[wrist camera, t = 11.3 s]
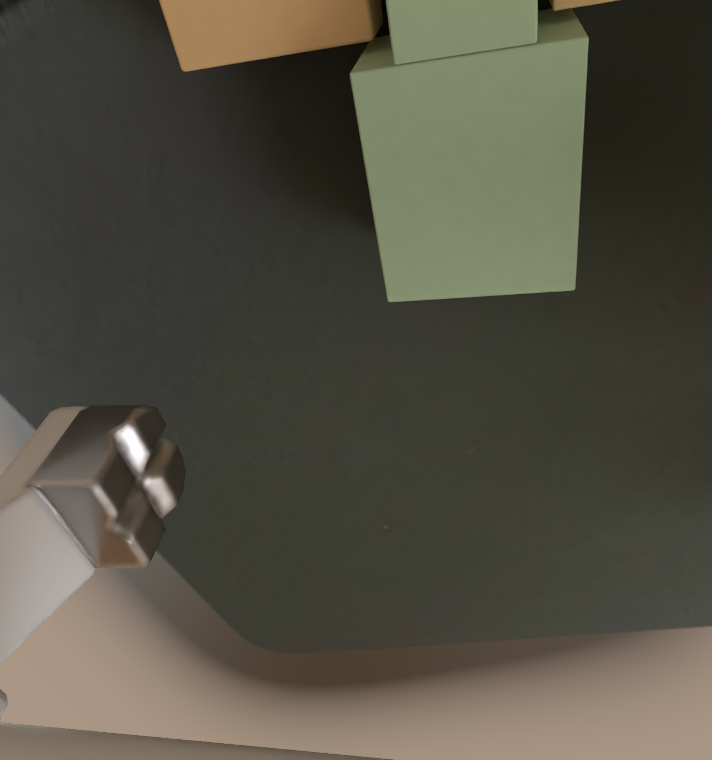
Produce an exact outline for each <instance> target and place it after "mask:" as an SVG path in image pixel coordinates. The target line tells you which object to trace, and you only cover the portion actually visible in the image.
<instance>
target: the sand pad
mask: <svg viewBox="0 0 712 760" xmlns="http://www.w3.org/2000/svg"><path fill="white" fill-rule="evenodd" d="M159 1H160V5H161V8H162V11H163V14H164V17H165V20H166V23H167V26H168V29H169V32H170V35H171V39H172V42H173V45H174V48H175V51H176V54H177V57H178V60H179V63H180V66H181V69H182V71H192V70H198V69H204V68H211V67H217V66H223V65H229V64H235V63H241V62H247V61H253V60H259V59H265V58H271V57H277V56H283V55H289V54H295V53H301V52H307V51H313V50H319V49H325V48H331V47H337V46H343V45H349V44H355V43H362V42H368V41H372V40H373V39H374V38H375V36H376V34H377V33H378V31H379V29H380V28H381V26H382V24H383V21H384V19H383V11H382V3H381V0H159ZM612 1H618V0H549V2H550V4H551V6H552V8H553V10H554V11H557V10H563V9H569V8H575V7H581V6H587V5H593V4H600V3H606V2H612Z"/></svg>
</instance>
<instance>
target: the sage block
mask: <svg viewBox="0 0 712 760" xmlns="http://www.w3.org/2000/svg"><path fill="white" fill-rule="evenodd" d="M386 7H387V15H388V23H389V31H390V35H388V36H382V37H376V38H374V39H373V40H372V41H370V42H369V44H368V45H367V47H366V49H365V50H364V52H363V53H362V55H361V57H360V58H359V60H358V61H357V63H356V64H355V66H354V68H353V69H352V71H351V72H350V80H351V86H352V92H353V98H354V104H355V110H356V116H357V122H358V128H359V134H360V140H361V146H362V152H363V158H364V163H365V169H366V175H367V181H368V187H369V193H370V199H371V205H372V211H373V217H374V223H375V229H376V235H377V241H378V247H379V253H380V259H381V265H382V271H383V277H384V283H385V289H386V295H387V300H388V302H399V301H414V300H430V299H446V298H461V297H477V296H493V295H508V294H524V293H540V292H555V291H571V290H575V285H576V266H577V247H578V229H579V210H580V191H581V173H582V154H583V135H584V117H585V98H586V80H587V61H588V42H589V38H588V36H587V34H586V32H585V31H584V29H583V27H582V25H581V24H580V22H579V20H578V18H577V17H576V15H575V13H574V11H573V10H572V8H569V9H563V10H557V11H554V10H553V8H551V9H545V10H539V11H538V0H386Z"/></svg>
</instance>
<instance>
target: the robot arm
mask: <svg viewBox="0 0 712 760" xmlns="http://www.w3.org/2000/svg"><path fill="white" fill-rule="evenodd" d="M165 426H166V423H165V421H164V419H163V418H162V416H161V414H160V412H159V411H158V409H157V408H155V407H152V406H149V405H112V406H89V407H60V408H58V409H56V410H54V411H51V412H50V413H49V415H48V416H47V417H46V419H45V420H44V421H43V422H42V424H41V425H40V426H39V428H38V429H37V430H36V431H35V433H34V434H33V435H32V437H31V438H30V439H29V440H28V442H27V443H26V444H25V446H24V447H23V448H22V449H21V451H20V452H19V453H18V455H17V456H16V457H15V459H14V460H13V461H12V462H11V464H10V465H9V466H8V467H7V469H6V470H5V471H4V473H3V474H2V475H1V477H0V664H1V663H2V661H4V660H5V659H6V658H7V657H8V656H9V655H10V654H11V653H12V652H13V651H14V650H15V649H16V648H17V647H18V646H19V645H20V644H21V643H22V642H23V641H24V640H25V639H26V638H27V637H28V636H29V635H30V634H32V633H33V631H34V630H36V629H37V628H38V627H39V626H40V625H41V624H42V623H43V622H44V621H45V620H46V619H47V618H48V617H49V616H50V615H51V614H52V613H53V612H54V611H55V610H56V609H57V608H58V607H59V606H61V605H62V604H63V603H64V602H65V601H66V600H67V599H68V598H69V597H70V596H71V595H72V594H73V593H74V592H75V591H76V590H77V589H78V588H79V587H80V586H81V585H82V584H83V583H84V582H85V581H86V580H87V579H88V578H90V577H91V576H92V574H94V573H95V572H96V569H95V568H148V566H149V564H150V562H151V560H152V557H153V555H154V553H155V551H156V549H157V547H158V545H159V543H160V540H161V538H162V536H163V534H164V532H165V527H164V523H163V520H162V517H163V516H164V515H165V514H167V513H168V512H169V511H170V510H172V509H173V508H174V507H175V506H176V505H177V503H178V501H179V499H180V496H181V494H182V492H183V488H184V479H185V466H184V461H183V457H182V455H181V453H180V451H179V449H178V446H177V445H176V444H174V443H173V442H172V441H170V440H169V439H167V438H166V437H165V436H163V432H164V429H165ZM7 705H8V701H7V696H6V694H5V693H4V692H3V691H2V690H0V718H1V716H2V715H3V713H4V711H5V709H6V707H7ZM0 760H390V759H381V758H371V757H359V756H348V755H339V754H328V753H317V752H307V751H296V750H286V749H276V748H265V747H255V746H244V745H234V744H223V743H212V742H202V741H191V740H181V739H170V738H159V737H149V736H138V735H128V734H116V733H107V732H96V731H86V730H74V729H65V728H53V727H43V726H33V725H22V724H12V723H1V722H0ZM391 760H392V759H391Z"/></svg>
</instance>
